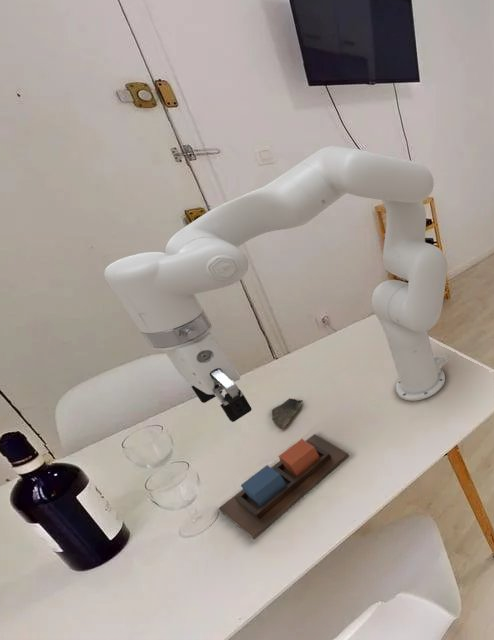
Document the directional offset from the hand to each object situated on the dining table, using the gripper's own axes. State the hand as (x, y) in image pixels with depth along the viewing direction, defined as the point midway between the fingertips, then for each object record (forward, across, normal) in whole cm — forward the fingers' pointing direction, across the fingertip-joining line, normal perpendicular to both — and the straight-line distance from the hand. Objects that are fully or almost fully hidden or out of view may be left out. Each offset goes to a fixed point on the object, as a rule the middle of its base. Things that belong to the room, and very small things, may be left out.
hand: (226, 406), depth 73 cm
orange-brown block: (+23, 0, -6) cm, 24 cm away
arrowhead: (+24, +18, -13) cm, 33 cm away
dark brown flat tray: (+24, 0, -2) cm, 24 cm away
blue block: (+23, 0, +2) cm, 23 cm away
